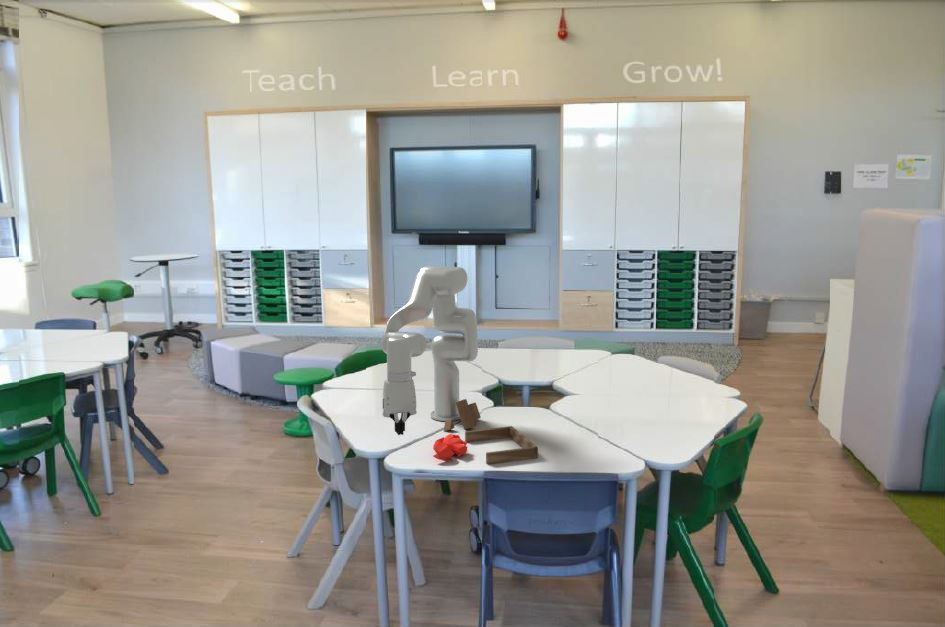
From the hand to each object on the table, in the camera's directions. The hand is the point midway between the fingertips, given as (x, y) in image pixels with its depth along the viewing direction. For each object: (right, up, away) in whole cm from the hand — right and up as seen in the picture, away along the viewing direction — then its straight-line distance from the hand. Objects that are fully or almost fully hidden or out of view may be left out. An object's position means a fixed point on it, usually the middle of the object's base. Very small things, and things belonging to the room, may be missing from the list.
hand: (399, 433), depth 219 cm
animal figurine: (+15, -9, +7) cm, 19 cm away
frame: (+31, -7, +12) cm, 35 cm away
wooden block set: (+20, -4, +36) cm, 42 cm away
